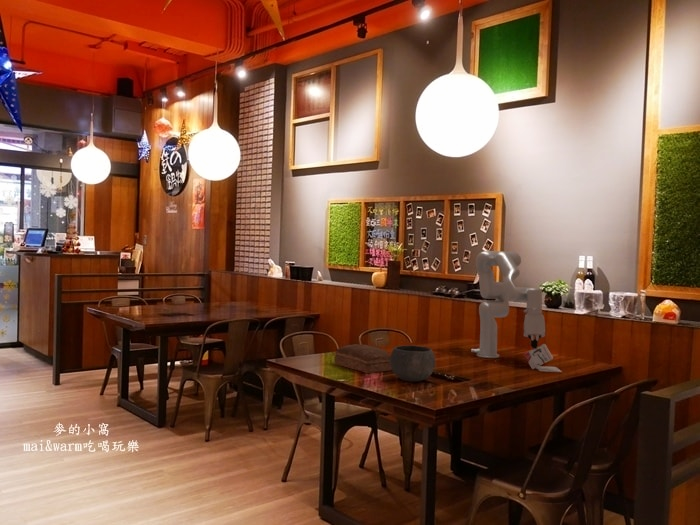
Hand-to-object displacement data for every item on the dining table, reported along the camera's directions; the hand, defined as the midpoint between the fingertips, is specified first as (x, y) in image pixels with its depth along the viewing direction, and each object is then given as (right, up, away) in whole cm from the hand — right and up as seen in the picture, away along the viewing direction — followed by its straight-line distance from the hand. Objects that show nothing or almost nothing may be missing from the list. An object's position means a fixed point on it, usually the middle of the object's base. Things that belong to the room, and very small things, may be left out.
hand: (534, 348), depth 311 cm
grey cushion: (-88, -10, -4) cm, 89 cm away
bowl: (-66, -10, -33) cm, 75 cm away
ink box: (-3, -7, +1) cm, 8 cm away
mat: (+7, -11, +1) cm, 13 cm away
